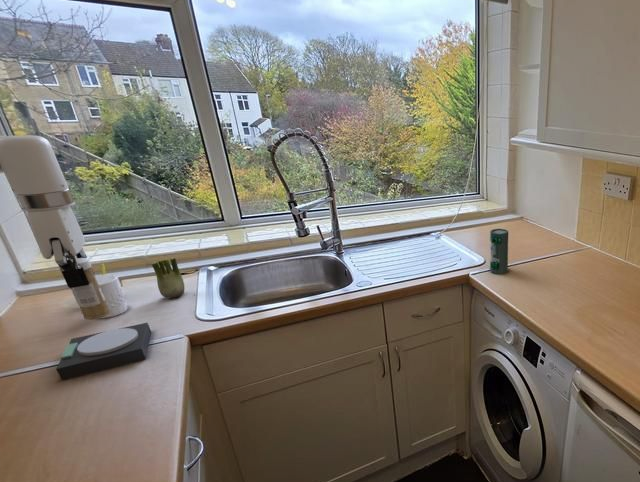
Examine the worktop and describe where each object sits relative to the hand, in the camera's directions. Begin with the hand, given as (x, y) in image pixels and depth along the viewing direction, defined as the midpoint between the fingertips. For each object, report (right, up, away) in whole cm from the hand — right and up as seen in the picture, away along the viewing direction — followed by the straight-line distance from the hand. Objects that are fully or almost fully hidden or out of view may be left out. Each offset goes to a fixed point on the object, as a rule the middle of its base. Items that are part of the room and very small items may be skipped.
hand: (82, 280), depth 89 cm
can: (+90, +2, +59) cm, 107 cm away
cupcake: (-26, -7, +32) cm, 41 cm away
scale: (-1, -18, +7) cm, 19 cm away
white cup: (-18, -10, +25) cm, 33 cm away
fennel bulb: (-9, -6, +35) cm, 36 cm away
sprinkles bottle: (0, -8, +4) cm, 9 cm away
